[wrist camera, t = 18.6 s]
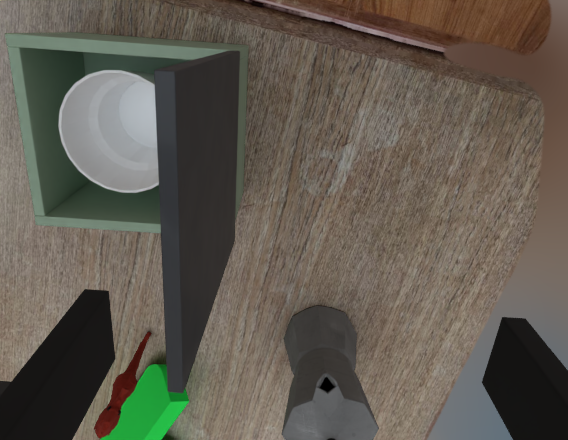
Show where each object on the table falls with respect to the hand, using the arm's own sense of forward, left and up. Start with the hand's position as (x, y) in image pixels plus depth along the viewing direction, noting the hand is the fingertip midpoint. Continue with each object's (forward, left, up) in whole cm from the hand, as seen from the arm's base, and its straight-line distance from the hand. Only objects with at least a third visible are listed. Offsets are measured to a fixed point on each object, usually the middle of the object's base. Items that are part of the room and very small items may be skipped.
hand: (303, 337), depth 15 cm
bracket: (+11, -42, -35) cm, 56 cm away
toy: (+2, -32, -35) cm, 48 cm away
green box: (-11, -7, -35) cm, 37 cm away
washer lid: (-5, -3, -14) cm, 15 cm away
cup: (-12, -8, -34) cm, 37 cm away
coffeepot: (+20, -19, -35) cm, 45 cm away
